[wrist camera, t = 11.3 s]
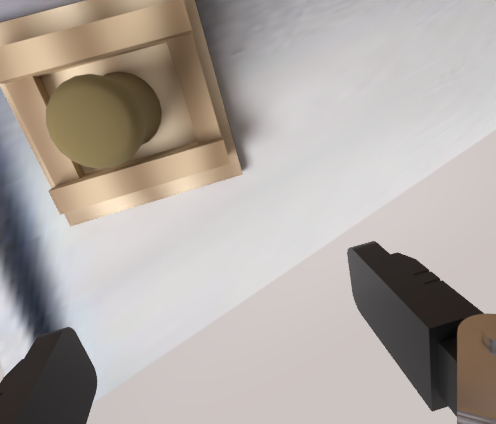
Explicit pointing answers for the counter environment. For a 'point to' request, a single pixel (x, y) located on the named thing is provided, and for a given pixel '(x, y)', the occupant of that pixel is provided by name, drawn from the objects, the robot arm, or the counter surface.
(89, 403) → the robot arm
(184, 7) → the cradle
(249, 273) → the counter surface
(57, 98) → the olive pepper mill
